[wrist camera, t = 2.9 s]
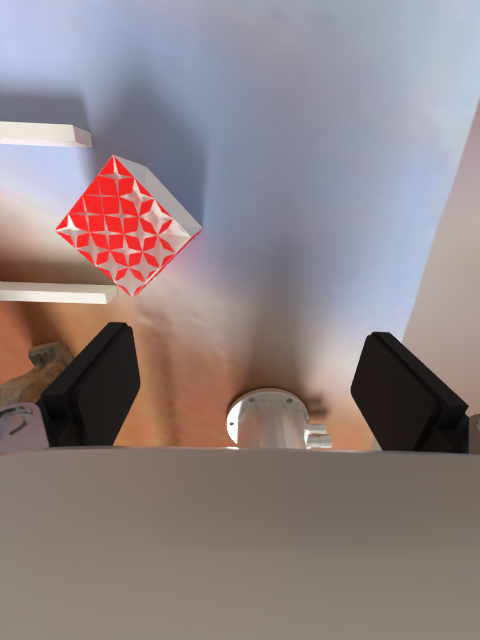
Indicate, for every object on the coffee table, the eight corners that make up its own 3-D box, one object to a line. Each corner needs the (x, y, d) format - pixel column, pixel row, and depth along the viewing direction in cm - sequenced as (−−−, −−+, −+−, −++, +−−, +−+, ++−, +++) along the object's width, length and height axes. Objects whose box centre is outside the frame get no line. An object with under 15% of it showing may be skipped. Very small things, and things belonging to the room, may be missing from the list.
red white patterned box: (100, 222, 28) (54, 230, 21) (146, 166, 26) (112, 154, 19) (157, 275, 31) (132, 298, 24) (203, 228, 29) (192, 238, 22)
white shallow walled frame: (90, 132, 25) (72, 124, 22) (117, 294, 32) (106, 303, 29) (-73, 125, 24) (-112, 115, 22) (-10, 290, 31) (-33, 299, 29)
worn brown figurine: (45, 338, 37) (-138, 409, 20) (81, 333, 37) (-73, 401, 19) (69, 411, 40) (-74, 531, 22) (103, 407, 39) (-15, 527, 22)
